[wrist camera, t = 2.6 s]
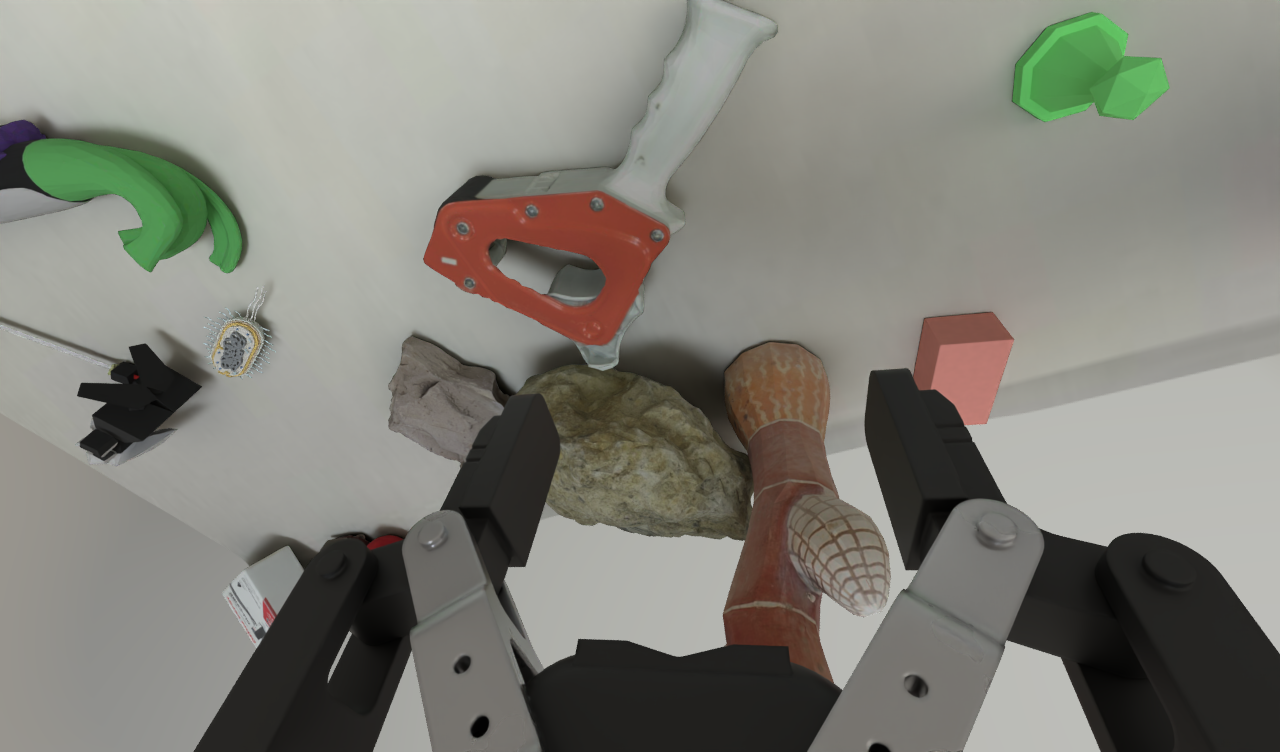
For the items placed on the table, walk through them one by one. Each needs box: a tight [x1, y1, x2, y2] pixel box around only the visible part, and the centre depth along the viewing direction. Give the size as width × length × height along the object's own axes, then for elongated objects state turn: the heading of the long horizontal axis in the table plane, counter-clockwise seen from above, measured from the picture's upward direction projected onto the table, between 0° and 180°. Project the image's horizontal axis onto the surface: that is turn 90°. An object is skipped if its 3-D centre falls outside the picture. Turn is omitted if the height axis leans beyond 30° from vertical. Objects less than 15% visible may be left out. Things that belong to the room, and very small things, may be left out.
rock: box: [516, 365, 754, 541], centre depth 37 cm, size 15×19×15 cm
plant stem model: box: [723, 342, 891, 683], centre depth 26 cm, size 10×7×30 cm
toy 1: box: [0, 120, 242, 273], centre depth 33 cm, size 6×11×30 cm
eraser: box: [913, 312, 1014, 425], centre depth 34 cm, size 4×7×3 cm, turn 10°
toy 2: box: [0, 324, 202, 466], centre depth 40 cm, size 8×20×15 cm
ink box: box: [222, 546, 304, 649], centre depth 61 cm, size 8×5×12 cm
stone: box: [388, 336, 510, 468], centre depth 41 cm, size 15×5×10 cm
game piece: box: [1012, 12, 1170, 122], centre depth 22 cm, size 4×4×6 cm
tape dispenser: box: [423, 0, 778, 371], centre depth 29 cm, size 18×5×20 cm
